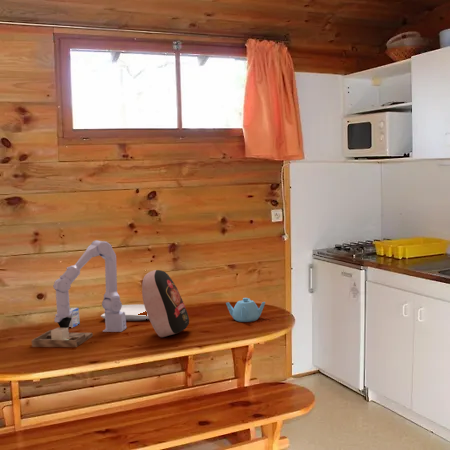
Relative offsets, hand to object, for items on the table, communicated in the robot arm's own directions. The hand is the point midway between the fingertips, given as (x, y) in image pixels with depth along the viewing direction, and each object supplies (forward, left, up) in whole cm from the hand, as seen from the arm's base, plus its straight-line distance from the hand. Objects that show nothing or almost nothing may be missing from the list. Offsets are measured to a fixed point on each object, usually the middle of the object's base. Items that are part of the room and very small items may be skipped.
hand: (65, 334), depth 267 cm
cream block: (0, +4, -1) cm, 4 cm away
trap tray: (0, +2, -3) cm, 4 cm away
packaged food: (-46, -10, -3) cm, 47 cm away
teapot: (-79, -39, -3) cm, 88 cm away
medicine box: (+8, -26, -3) cm, 27 cm away
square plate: (-17, -48, -3) cm, 51 cm away
